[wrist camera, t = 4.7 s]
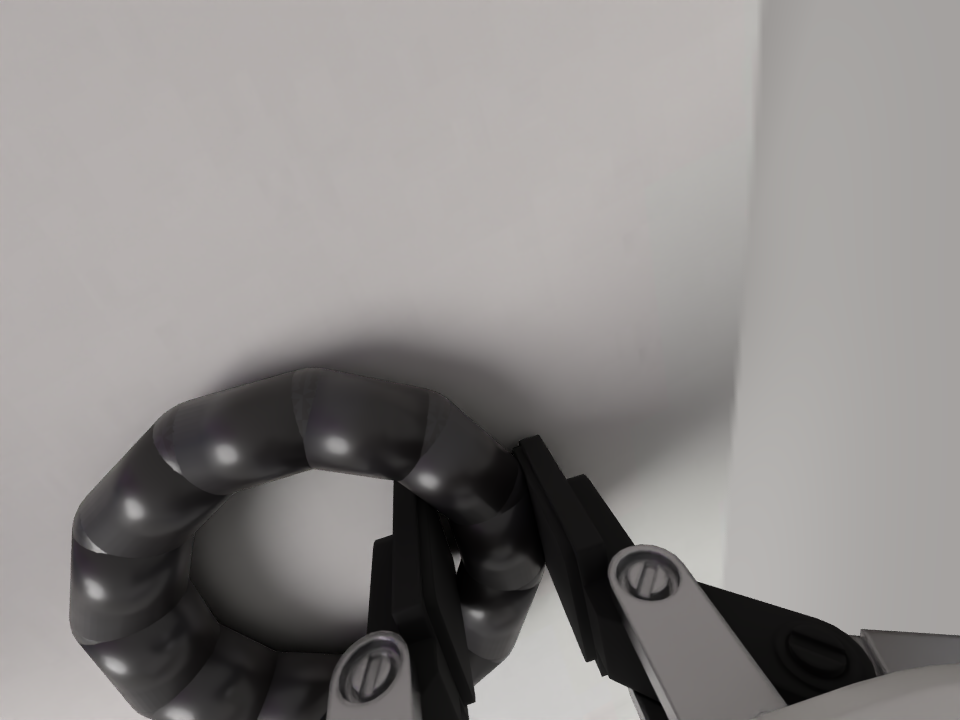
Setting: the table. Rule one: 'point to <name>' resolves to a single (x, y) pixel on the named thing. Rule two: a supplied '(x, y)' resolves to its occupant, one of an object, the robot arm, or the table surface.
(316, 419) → the ring
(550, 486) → the robot arm
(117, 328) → the table surface
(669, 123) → the table surface
